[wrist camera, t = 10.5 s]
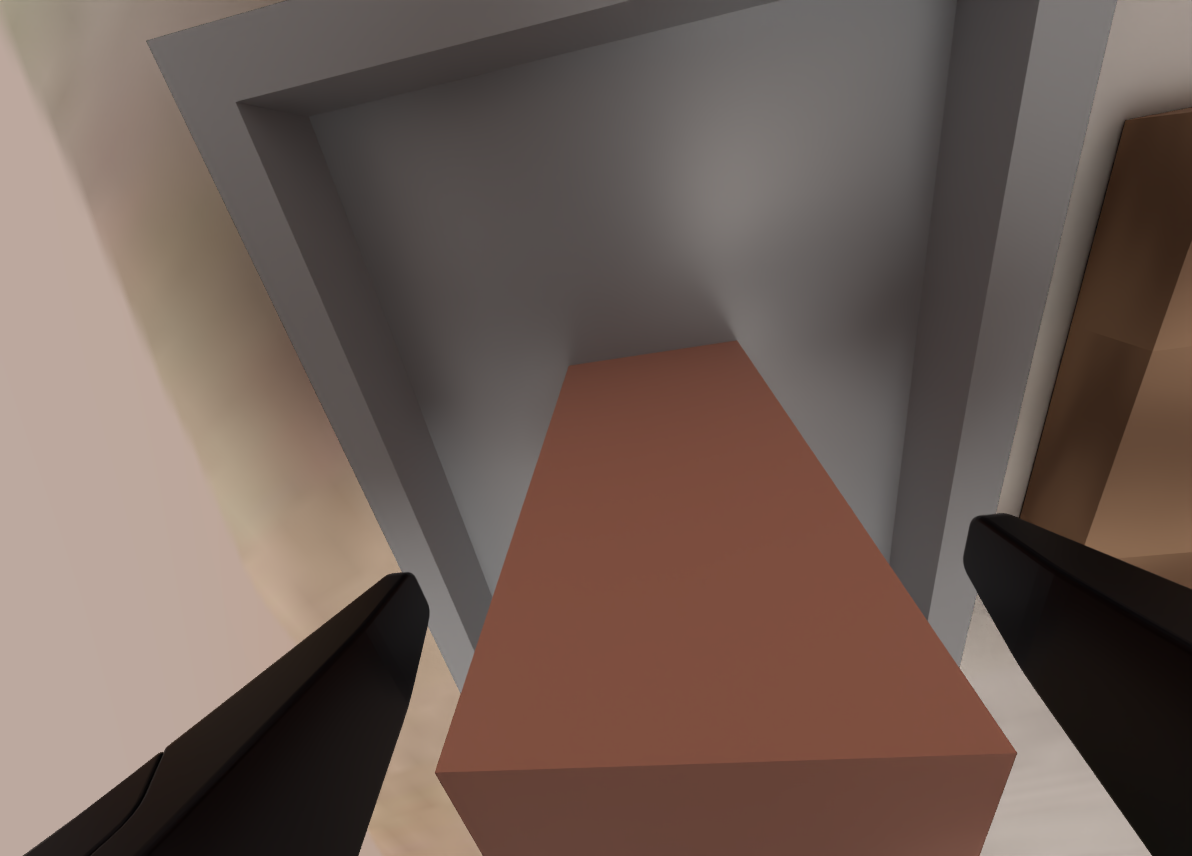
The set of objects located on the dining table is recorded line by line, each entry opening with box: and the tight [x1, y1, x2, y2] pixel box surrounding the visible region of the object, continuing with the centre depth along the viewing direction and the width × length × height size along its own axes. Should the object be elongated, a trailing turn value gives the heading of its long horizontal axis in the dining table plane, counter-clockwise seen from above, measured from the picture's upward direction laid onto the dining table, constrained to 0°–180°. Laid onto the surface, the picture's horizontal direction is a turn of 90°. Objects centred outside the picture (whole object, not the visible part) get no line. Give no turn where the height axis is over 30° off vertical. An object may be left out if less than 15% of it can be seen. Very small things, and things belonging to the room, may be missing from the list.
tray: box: [146, 0, 1117, 693], centre depth 12 cm, size 18×14×3 cm
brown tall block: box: [435, 340, 1017, 856], centre depth 8 cm, size 4×4×9 cm
